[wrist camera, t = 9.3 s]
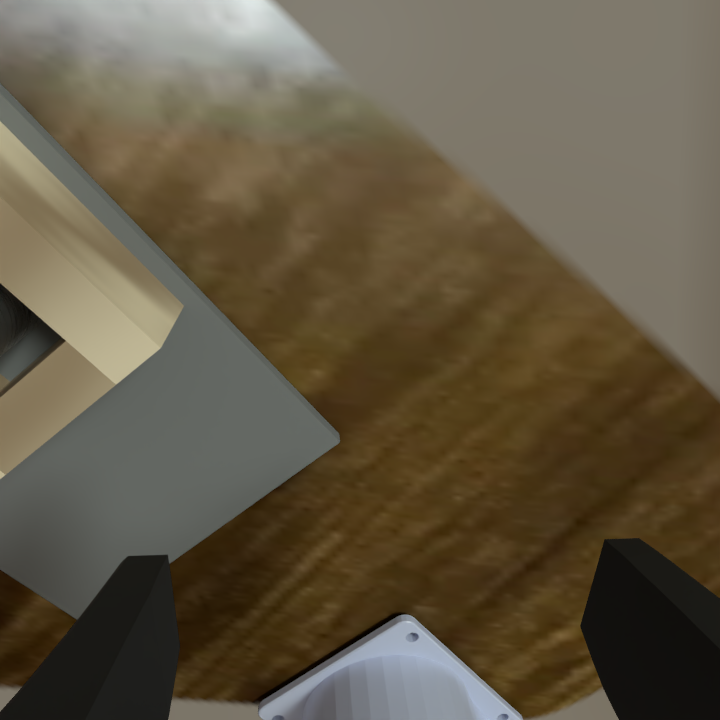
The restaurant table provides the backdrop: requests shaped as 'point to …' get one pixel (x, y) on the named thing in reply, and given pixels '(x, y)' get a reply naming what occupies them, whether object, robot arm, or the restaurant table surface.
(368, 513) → the restaurant table surface
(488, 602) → the restaurant table surface
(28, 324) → the metal pin
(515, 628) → the restaurant table surface
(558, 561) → the restaurant table surface
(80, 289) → the birch square frame
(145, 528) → the charcoal mat
